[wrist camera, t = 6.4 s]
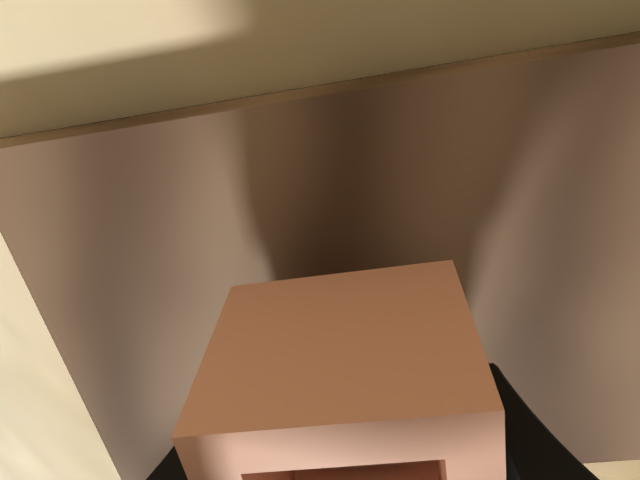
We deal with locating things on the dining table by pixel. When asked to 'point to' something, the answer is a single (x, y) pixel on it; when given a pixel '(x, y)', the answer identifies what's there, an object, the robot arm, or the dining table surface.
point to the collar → (345, 383)
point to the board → (350, 228)
